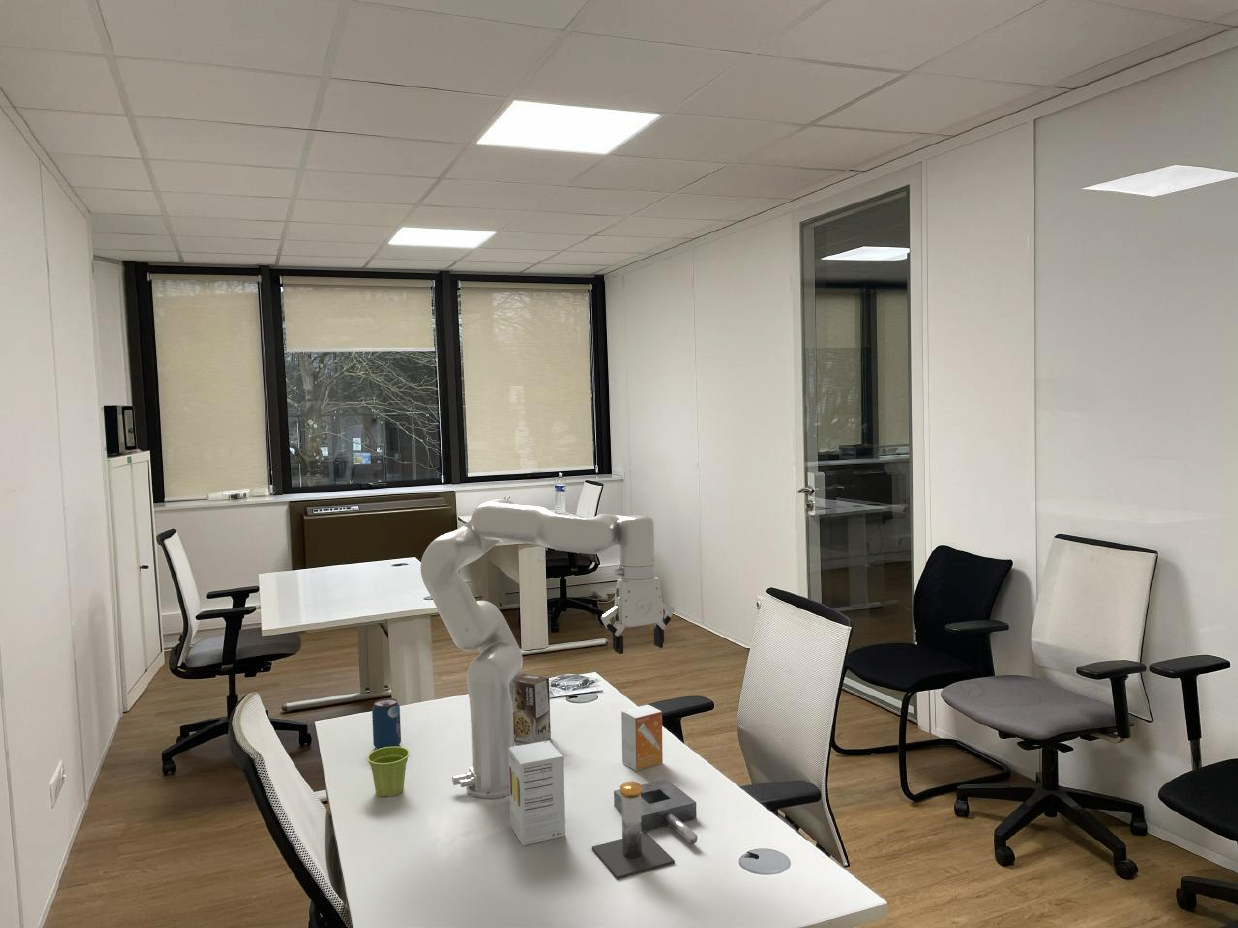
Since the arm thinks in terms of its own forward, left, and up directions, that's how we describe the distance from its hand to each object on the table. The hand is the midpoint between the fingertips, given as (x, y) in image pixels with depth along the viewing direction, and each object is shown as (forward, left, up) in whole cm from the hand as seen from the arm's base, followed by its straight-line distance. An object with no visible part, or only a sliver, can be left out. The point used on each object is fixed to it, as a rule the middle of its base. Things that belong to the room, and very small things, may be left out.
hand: (638, 649), depth 187 cm
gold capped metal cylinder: (-13, -22, -33) cm, 41 cm away
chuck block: (-1, -13, -33) cm, 36 cm away
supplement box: (-26, -4, -34) cm, 42 cm away
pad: (-13, -22, -33) cm, 42 cm away
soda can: (-46, +56, -34) cm, 80 cm away
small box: (+8, +16, -34) cm, 38 cm away
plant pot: (-50, +29, -34) cm, 67 cm away
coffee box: (-11, +44, -34) cm, 56 cm away
